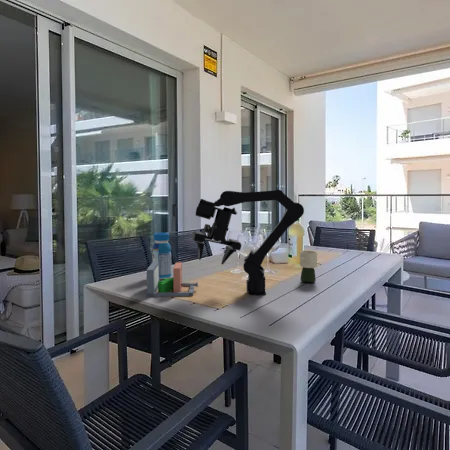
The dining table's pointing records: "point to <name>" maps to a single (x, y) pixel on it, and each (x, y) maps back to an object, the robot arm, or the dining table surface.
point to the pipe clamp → (166, 285)
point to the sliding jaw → (180, 278)
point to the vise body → (153, 283)
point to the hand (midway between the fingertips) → (210, 262)
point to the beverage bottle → (162, 254)
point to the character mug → (308, 265)
